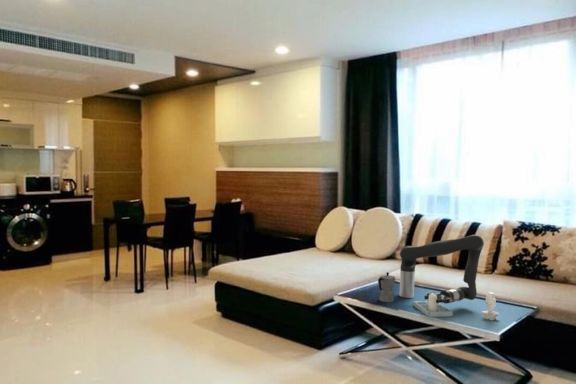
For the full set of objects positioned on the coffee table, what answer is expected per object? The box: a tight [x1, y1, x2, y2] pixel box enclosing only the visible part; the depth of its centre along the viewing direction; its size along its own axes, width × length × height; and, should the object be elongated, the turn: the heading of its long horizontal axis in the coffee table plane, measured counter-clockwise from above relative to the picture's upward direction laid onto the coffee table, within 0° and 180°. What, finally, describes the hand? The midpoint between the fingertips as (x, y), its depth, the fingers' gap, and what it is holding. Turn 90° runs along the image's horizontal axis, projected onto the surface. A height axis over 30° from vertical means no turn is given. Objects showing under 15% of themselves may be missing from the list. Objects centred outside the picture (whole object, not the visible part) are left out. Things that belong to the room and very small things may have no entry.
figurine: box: [480, 291, 500, 321], centre depth 260 cm, size 7×9×15 cm
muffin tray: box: [412, 300, 454, 318], centre depth 273 cm, size 22×15×3 cm
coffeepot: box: [377, 271, 396, 303], centre depth 291 cm, size 15×9×18 cm, turn 129°
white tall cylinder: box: [427, 292, 437, 312], centre depth 265 cm, size 5×5×12 cm
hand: (430, 299), depth 264 cm, fingers open, 8 cm apart
